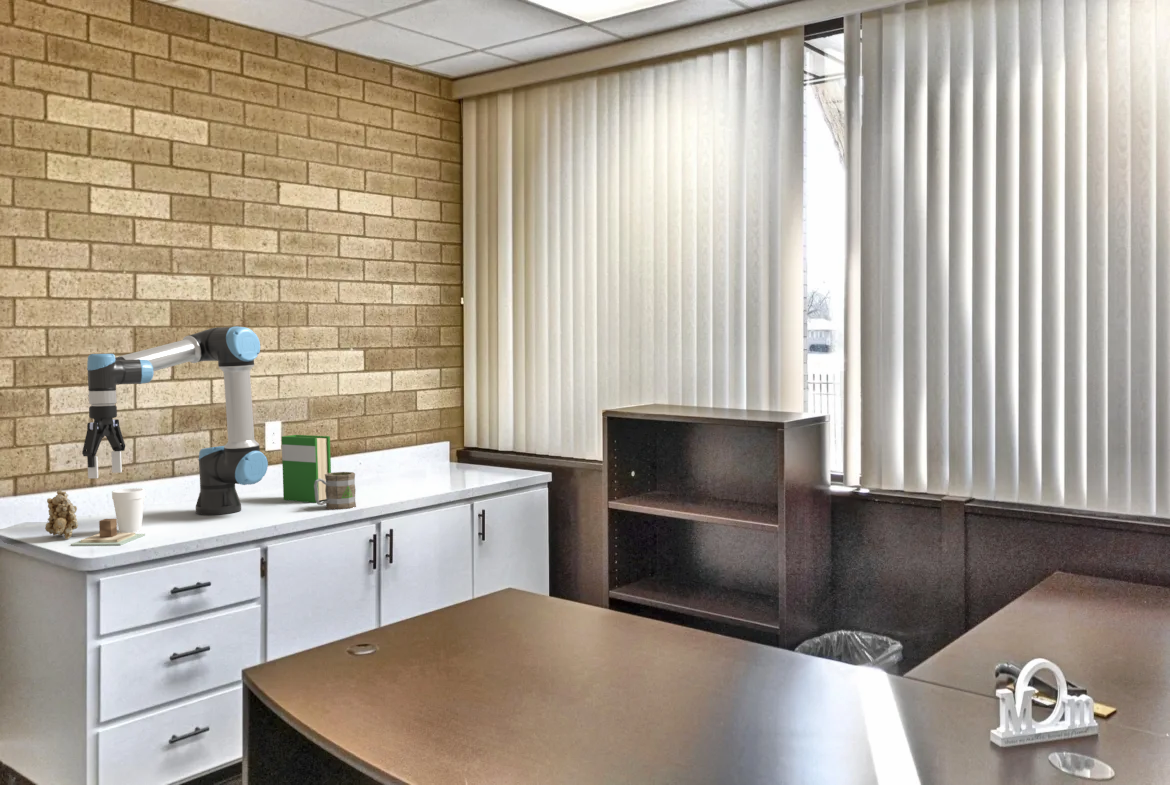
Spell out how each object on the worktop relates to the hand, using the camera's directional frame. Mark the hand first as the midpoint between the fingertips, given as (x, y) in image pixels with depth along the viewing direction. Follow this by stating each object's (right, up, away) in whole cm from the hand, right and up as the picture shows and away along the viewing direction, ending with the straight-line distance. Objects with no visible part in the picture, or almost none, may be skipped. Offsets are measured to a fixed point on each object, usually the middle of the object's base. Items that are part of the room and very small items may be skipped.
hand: (105, 475), depth 297 cm
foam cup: (0, -19, +16) cm, 25 cm away
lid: (0, -19, +1) cm, 19 cm away
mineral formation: (-16, -20, +7) cm, 27 cm away
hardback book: (+40, -16, +74) cm, 85 cm away
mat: (0, -20, +1) cm, 20 cm away
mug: (+56, -16, +54) cm, 79 cm away
